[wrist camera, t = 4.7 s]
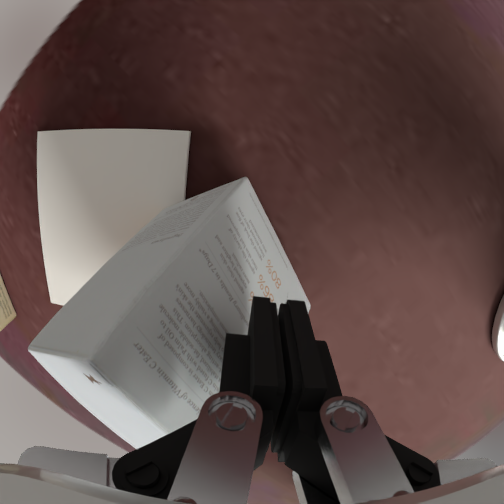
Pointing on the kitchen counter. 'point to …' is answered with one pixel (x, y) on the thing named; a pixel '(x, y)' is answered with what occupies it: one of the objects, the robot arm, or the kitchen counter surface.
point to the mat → (102, 195)
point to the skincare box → (5, 306)
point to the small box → (167, 313)
